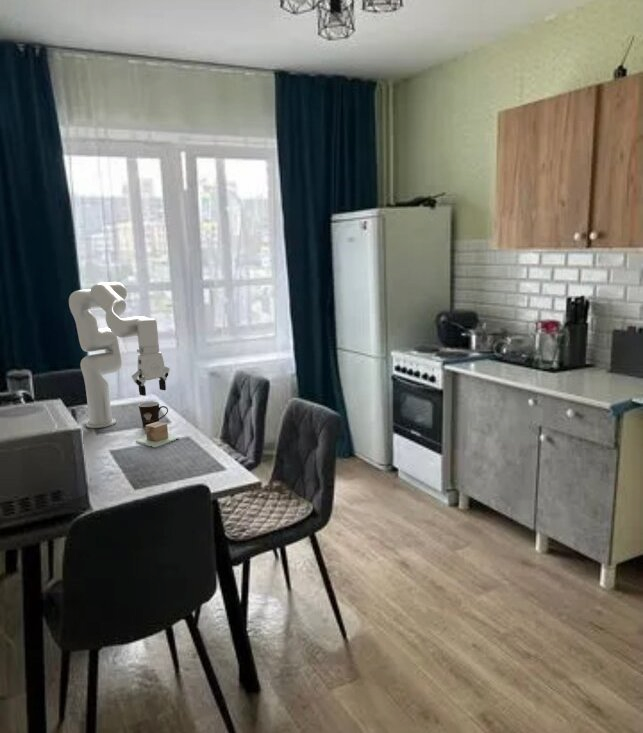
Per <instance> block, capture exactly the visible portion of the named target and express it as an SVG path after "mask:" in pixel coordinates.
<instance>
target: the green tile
mask: <svg viewBox="0 0 643 733" xmlns="http://www.w3.org/2000/svg"><path fill="white" fill-rule="evenodd" d="M176 439H178V440H180V437H179V436H176V435H172V434H168V438H167V439H164V440H161V441H158V442H154V441H150V440H147V437H146V436H145V437H143V438H140V439H137V440H135V443H136V442H137V444H140V443H141V445H144V444H145V445H144V446H147V447H151V446H152V448H159V447H160V446H163V445H167V444H169V442H170V443H172V442H171V441H173V442H175V441H177V440H176ZM174 440H175V441H174ZM166 443H167V444H166Z"/></svg>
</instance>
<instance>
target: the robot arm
mask: <svg viewBox="0 0 643 733" xmlns="http://www.w3.org/2000/svg"><path fill="white" fill-rule="evenodd" d="M127 292H128V291H127V288H126V287H125V285H123V284H122V283H121V282H118V281H113V282H109V281H108V282H99V283H96V284H94V285H92V286H91V288H86V289H79V290H75V291H73V292H72V293H71V294H70V295H69V298H68V305H69V310H70V313H71V314H72V316H73V319H74V321H75V324H76V325H75V326H76V330H77V335H78V342H79V344H80V348H81V349H82V351H83V352H86V353H87V352H98V351H102V350H104V352H100V353H95V354H89V355H86V356H84V357H83V358H82V359H81V360H80V365H79V366H80V369H81V373H82V376H83V380H84V386H85V392H86V393H85V394H86V402H87V410H88V413H87V415H86V418H87V419H88V421H87V422H86V423H85V424H86V427H87V428H90V429H100V428H106V427H111V426H113V425H116V423H117V420H116V418H113V416H112V414H113V412H112V406H111V398H110V397H111V396H110V388H109V384H108V382H107V380H106V379H105V378H104V377H103V376H105V375H108V374H109V375H110V374H113V373H117V372H119V371H120V370H122V365H123V363H122V362H123V361H122V356H121V352H120V351H121V350H120V345H119V340H118V338H122V339H126V338H132V337H137V341H138V348H137V349H136V352H137V353H138V354H137V355H138V357H137V371H136V372H135V373H133V374H132V375H131V378H132V380H133V382H134V383H135V384H136V385H137V386H138V392H139V395H140V396H145V397H146V396H147V391H146V390H147V388H146V385H145V383H146V381H151V380H157V379H159V380H158V386H159V387H158V388H159V390H161V391H166V389H167V384H166V381H167V378H168V376H169V373H170V367H167V366H165V361H164V357H163V354H162V352H161V351H160V346H159V345H160V343H159V332H158V331H159V330H158V322H157V320H156V318H152V317H146V316H141V315H140V316H131V317H125V318H124V317H122V318H120V316H122V314H123V313H124V312H125V311H126V308H127V303H126V301H125V300H126V298H127V297H128V296H127ZM91 309H93V310H94V309H102V310H103V311H104V312H105V322H106V323H105V324H106V326H107V327H103V328H102V327H100V328H99V325H98V321H97V320H98V319H97V318H96V316H95V315H94V314H93V313H92V311H90V310H91Z"/></svg>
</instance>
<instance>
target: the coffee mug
mask: <svg viewBox="0 0 643 733" xmlns="http://www.w3.org/2000/svg"><path fill="white" fill-rule="evenodd" d="M162 408H165V410H166V412H165V414H164V415H161V417H160V416H159V415H160V411H161V409H162ZM138 410H139V413H140V418H141V422H142V427H143V428H144V429H146V427H145V425H148V424H151V423H155V422H160V420H161V419H163V418H164V417H165V416H167V414H168V413H169V409H168V407H167V406H165V405H163V406H160V402H158V401H145V402H142V403H139V404H138Z"/></svg>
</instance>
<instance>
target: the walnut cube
mask: <svg viewBox="0 0 643 733" xmlns="http://www.w3.org/2000/svg"><path fill="white" fill-rule="evenodd" d="M145 427H146V428H145V434H146V436H145V437H147V440H150V441H154V442H158V441H161V440H164V439H167V438H168V435H169V430H168V423H165V422H161V421H159V422H155V423H151V424H148V425H145Z"/></svg>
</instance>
